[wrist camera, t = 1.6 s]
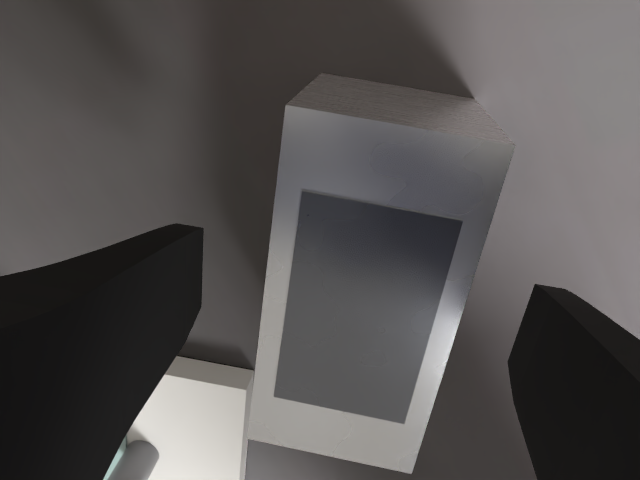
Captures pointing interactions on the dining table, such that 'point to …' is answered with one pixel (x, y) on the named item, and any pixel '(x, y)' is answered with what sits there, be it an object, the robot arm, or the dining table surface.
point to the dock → (190, 426)
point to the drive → (370, 264)
